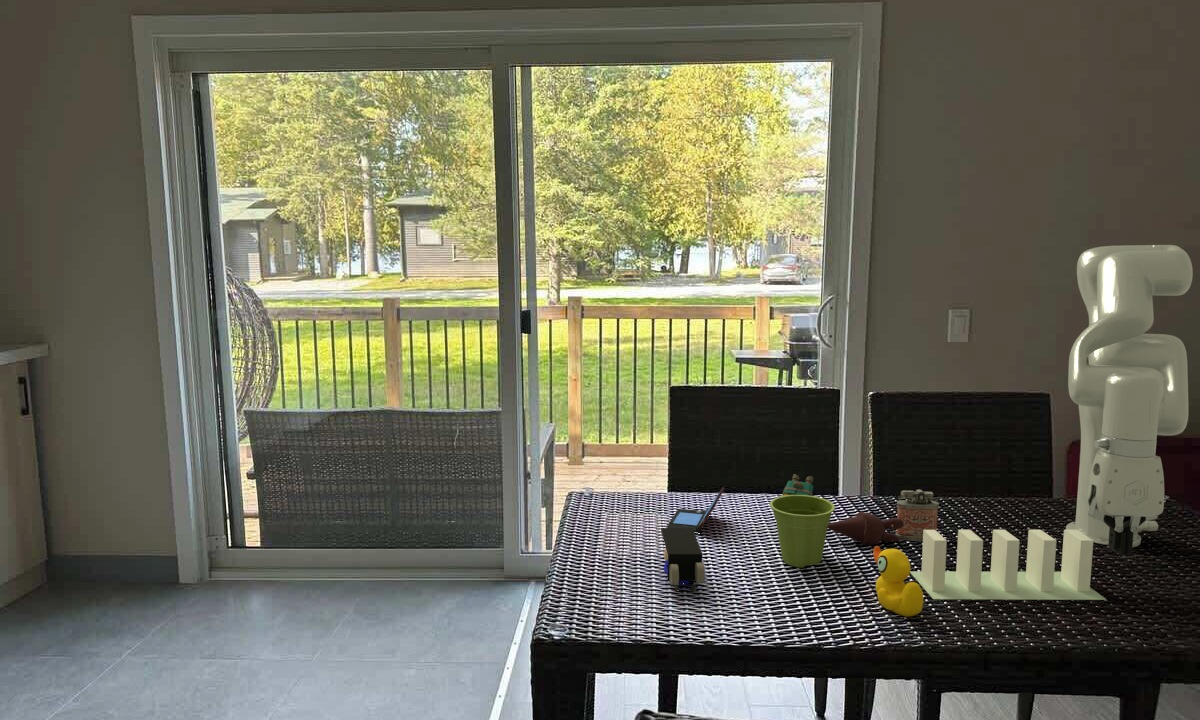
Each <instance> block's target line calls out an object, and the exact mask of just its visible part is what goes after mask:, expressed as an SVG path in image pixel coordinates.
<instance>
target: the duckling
mask: <svg viewBox="0 0 1200 720" xmlns="http://www.w3.org/2000/svg"><path fill="white" fill-rule="evenodd" d="M873 559H874V562H875V564H876V565H877V568H878V572H879V573H880V576H879V577H878V578H877V579H876V582H875V591H876V594H877V600H878V603H880V605H881V606H882V607H883V608H885V609H886V610H887V611H892V612H893V613H894V614H897V615H899V616H902V617H906V618H907V617H908V618H909V617H914V616H917V615H919V613H921V611H922V610H923V608H924V607H923V606H924V592H923V588H921V587H922V586H921V585H920V584H918V583H917V582H915V581H909V582H907V583H905V582H904V581H905V580H906V579H908V578H909V576H910V574H911V573H910V571H911V570H912V568H911V563H910V560H909V558H908V556H907V555H906V554H905V553H904V552H903V551H901V550H900V549H897V548H887V549H884V550H881V547H880V546H878V545H876V546H874V547H873Z"/></svg>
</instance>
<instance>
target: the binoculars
mask: <svg viewBox="0 0 1200 720" xmlns="http://www.w3.org/2000/svg"><path fill="white" fill-rule="evenodd" d="M813 482H814V476H813V475H811V476H810V475H809V476H807V477H806V479H805V482H803V481H800V475H797V474H795V473H793V475H792V478H791V480H788V481H787V483H786V485H785V487H784V489H783V492H782V494H781V496H786V495H808V496H813V490H814V485H813Z"/></svg>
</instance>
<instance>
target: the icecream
mask: <svg viewBox="0 0 1200 720" xmlns="http://www.w3.org/2000/svg"><path fill="white" fill-rule="evenodd" d="M903 526H904V522H903V521H902V520H901V519H898V518H897V517H892V518H889V519H885V520H881V518H880V517H878V516H877V515H875V514H873V513H869V512H863V511H862V510H861V511H860V512H858V513H856V514H855V515H854V516H853V517H849V518H845V519H843V520H838V521H833V522H831V523H830V522H829V523H828V527H827V530H830V531H833V532H835V533H837V534H839V535H842V536H845V537H848V538H849V539H852V540H854V541H855V542H859V543H860V544H861V546H864V545H865V546H866V545H867V546H875V545H878V544H879V543H881V542H900V539H899V537H898V536H897V535H896V534H895V533H891V532H887V530H890V531H893V530H894V531H897V529H900V528H902V527H903Z"/></svg>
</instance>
